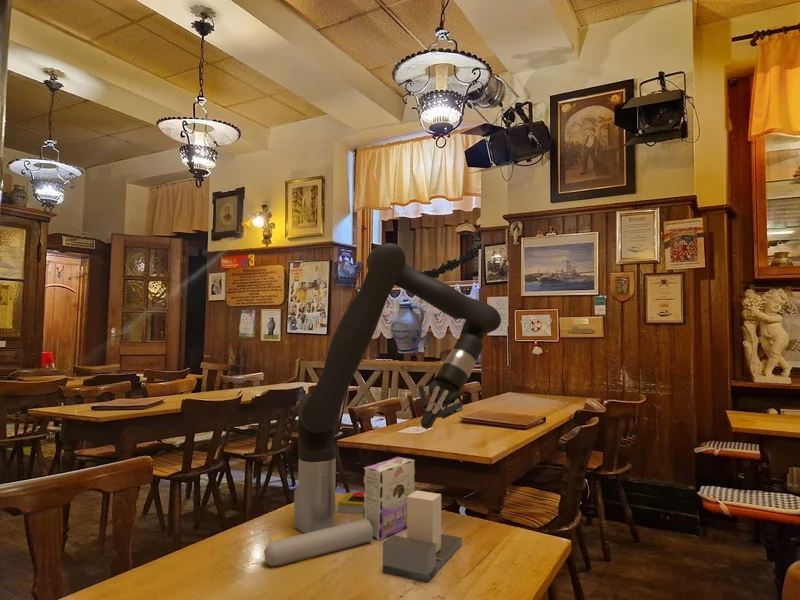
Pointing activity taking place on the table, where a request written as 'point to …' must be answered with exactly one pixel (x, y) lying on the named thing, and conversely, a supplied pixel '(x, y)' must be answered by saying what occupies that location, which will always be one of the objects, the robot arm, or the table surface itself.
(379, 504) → the candy box
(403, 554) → the grey base block
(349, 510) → the emergency button
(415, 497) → the block
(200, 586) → the table surface
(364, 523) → the tube
